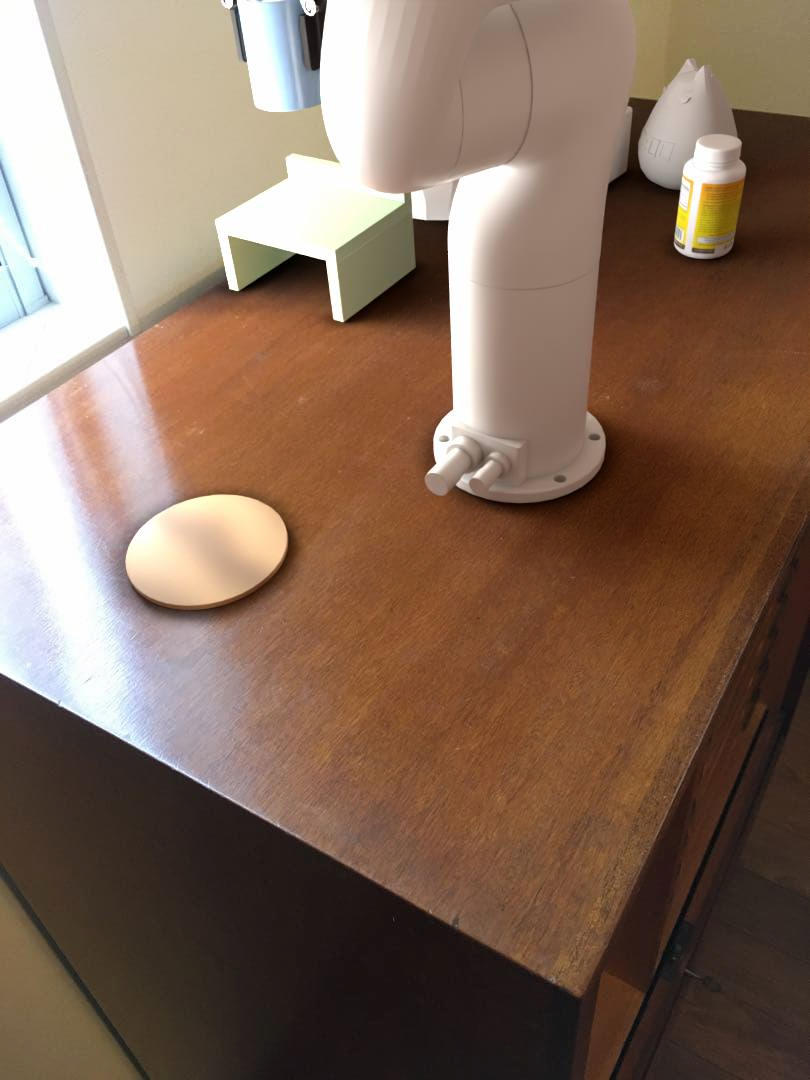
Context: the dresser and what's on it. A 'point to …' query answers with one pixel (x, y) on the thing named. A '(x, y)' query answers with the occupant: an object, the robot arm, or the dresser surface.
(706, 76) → the toy character
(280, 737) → the dresser surface
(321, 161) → the shelf
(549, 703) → the dresser surface
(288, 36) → the cup
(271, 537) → the coaster
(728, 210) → the supplement bottle
